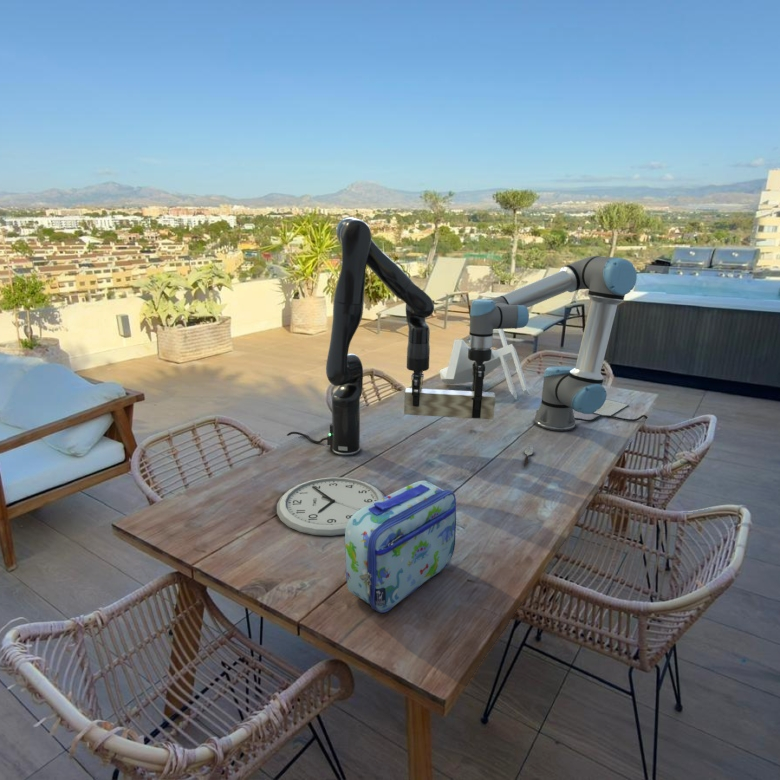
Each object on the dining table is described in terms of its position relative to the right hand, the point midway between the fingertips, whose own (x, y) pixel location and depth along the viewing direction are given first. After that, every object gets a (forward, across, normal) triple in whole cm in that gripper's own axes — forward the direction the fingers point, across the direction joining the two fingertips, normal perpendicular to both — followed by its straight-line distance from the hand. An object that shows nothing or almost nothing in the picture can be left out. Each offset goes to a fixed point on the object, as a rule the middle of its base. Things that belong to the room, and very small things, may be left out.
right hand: (475, 414), depth 177 cm
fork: (+13, +6, +17) cm, 22 cm away
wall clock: (+12, +44, -40) cm, 61 cm away
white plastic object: (+13, -66, +6) cm, 67 cm away
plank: (+1, 0, -9) cm, 9 cm away
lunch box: (+12, +75, -19) cm, 78 cm away
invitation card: (+13, -53, +57) cm, 79 cm away
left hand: (-3, 0, -20) cm, 20 cm away
